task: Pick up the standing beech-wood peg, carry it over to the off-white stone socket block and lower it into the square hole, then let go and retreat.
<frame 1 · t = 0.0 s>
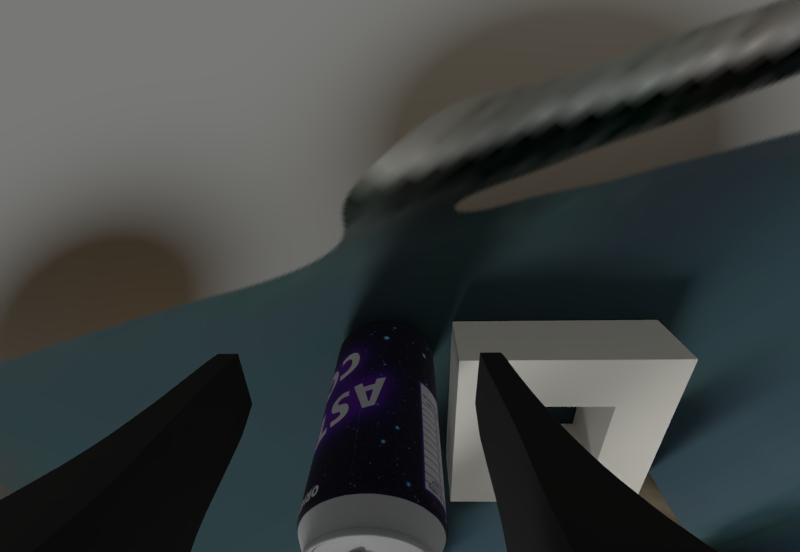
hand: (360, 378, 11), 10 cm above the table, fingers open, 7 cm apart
beech peg: (616, 471, 29), on the table
beverage can: (387, 348, 24), on the table
socket block: (539, 395, 25), on the table
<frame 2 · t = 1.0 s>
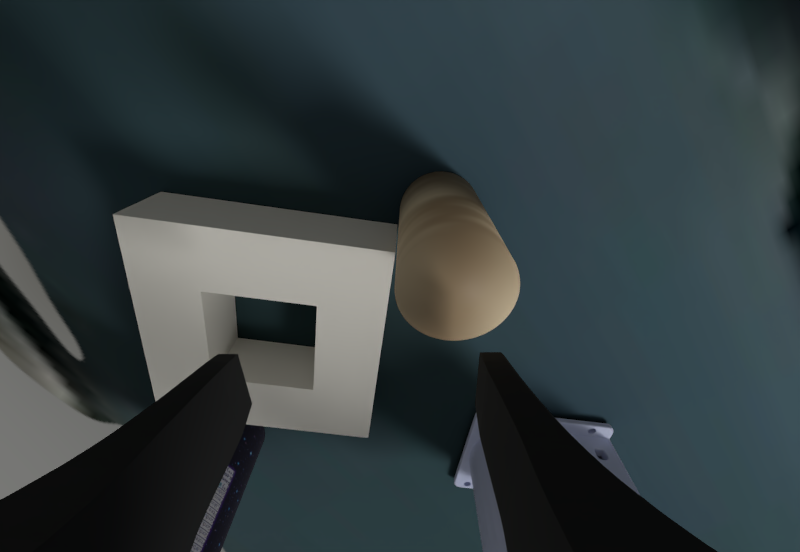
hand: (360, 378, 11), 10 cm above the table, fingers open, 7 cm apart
beech peg: (439, 211, 19), on the table
beverage can: (229, 416, 27), on the table
socket block: (281, 306, 22), on the table
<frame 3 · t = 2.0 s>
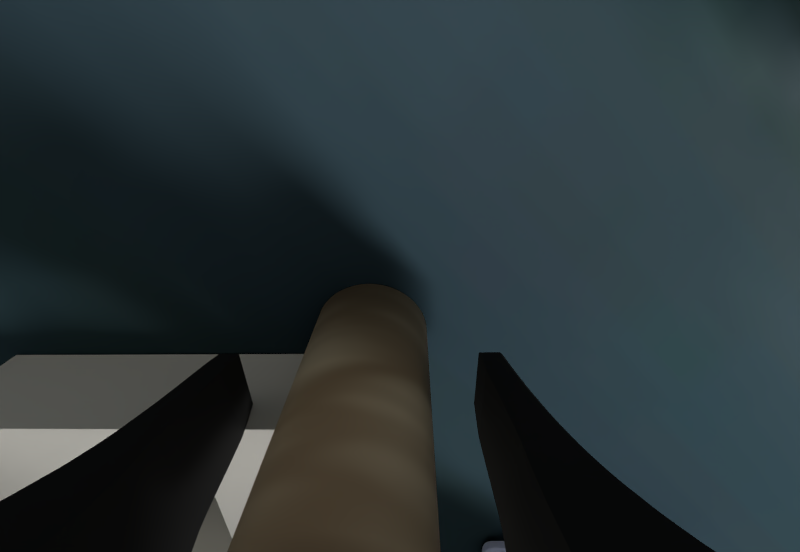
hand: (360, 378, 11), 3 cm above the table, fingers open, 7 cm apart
beech peg: (371, 331, 14), on the table
socket block: (207, 457, 17), on the table
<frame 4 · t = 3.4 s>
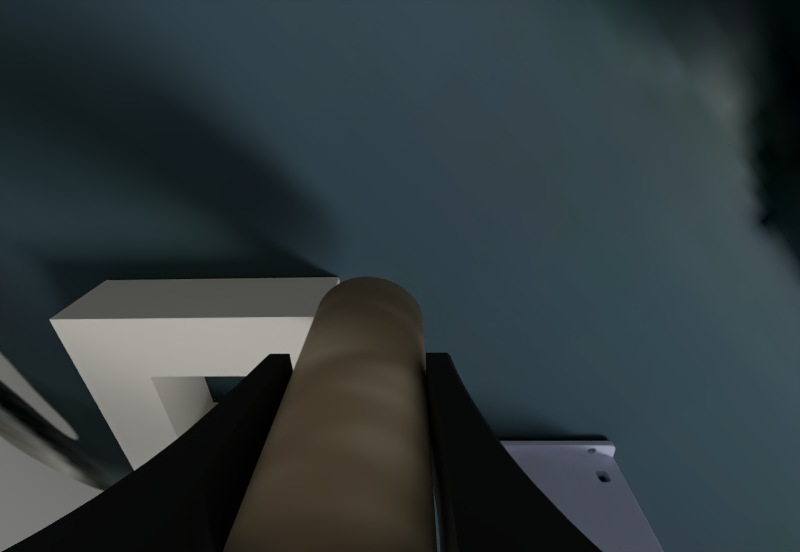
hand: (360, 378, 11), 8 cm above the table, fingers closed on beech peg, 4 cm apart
beech peg: (369, 323, 14), point 5 cm above the table, touching gripper
socket block: (247, 368, 22), on the table
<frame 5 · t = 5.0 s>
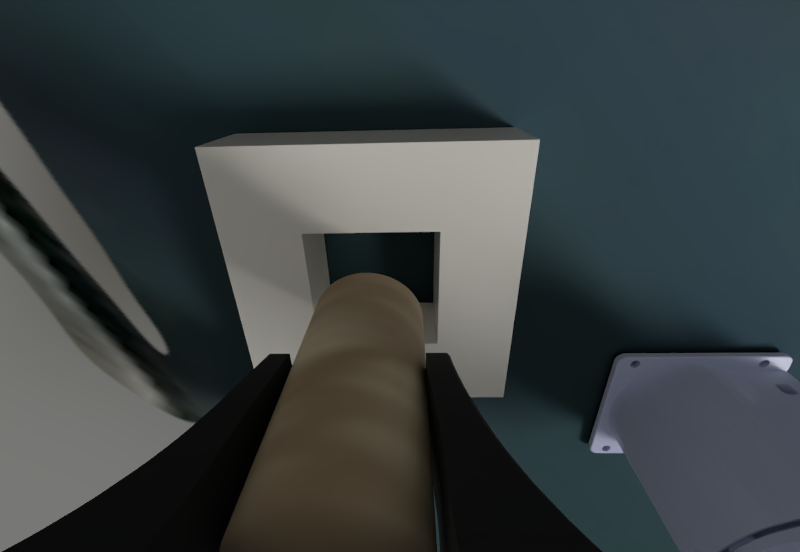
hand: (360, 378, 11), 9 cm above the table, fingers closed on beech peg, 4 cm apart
beech peg: (369, 320, 14), point 6 cm above the table, touching gripper
socket block: (380, 257, 19), on the table
when the fingers open (4 cm above the table, at t = 6.4 s): beech peg stays where it is, resting in socket block.
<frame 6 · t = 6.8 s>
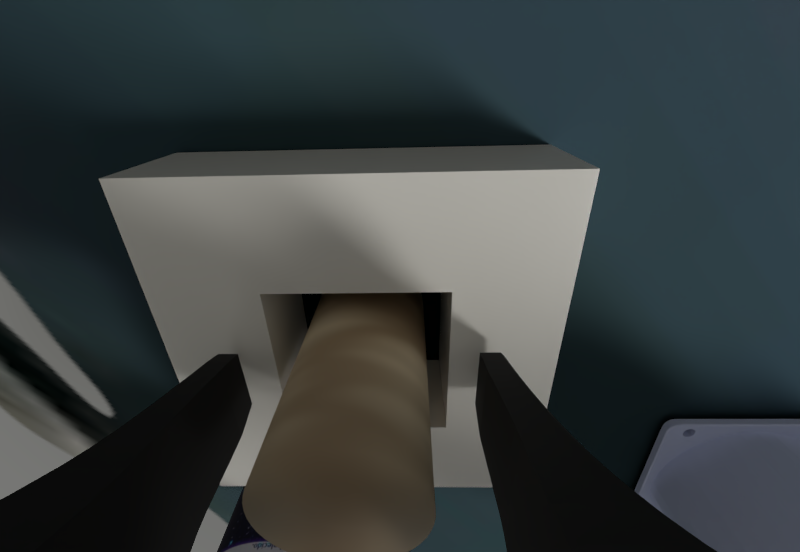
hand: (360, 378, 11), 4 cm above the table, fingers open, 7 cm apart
beech peg: (372, 306, 15), resting in socket block
beverage can: (311, 465, 20), on the table
socket block: (371, 306, 15), on the table
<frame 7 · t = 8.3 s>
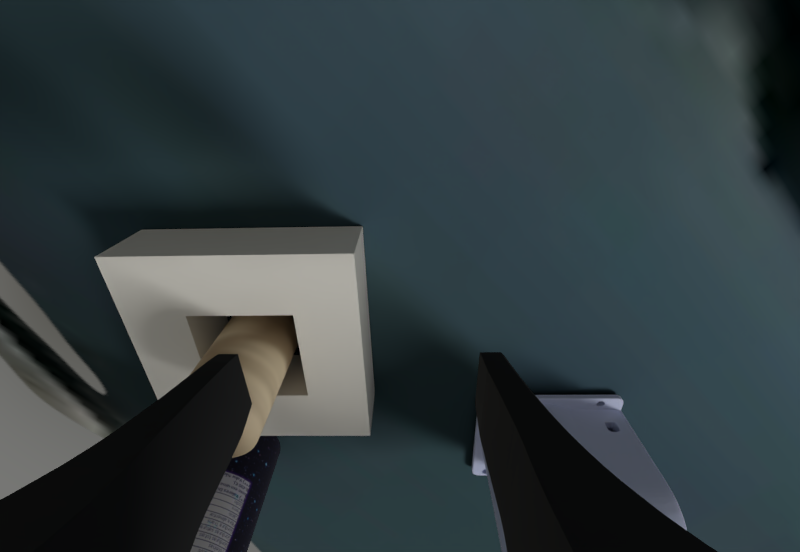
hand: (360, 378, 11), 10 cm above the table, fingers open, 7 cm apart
beech peg: (272, 319, 23), resting in socket block
beverage can: (246, 430, 28), on the table
socket block: (271, 320, 23), on the table
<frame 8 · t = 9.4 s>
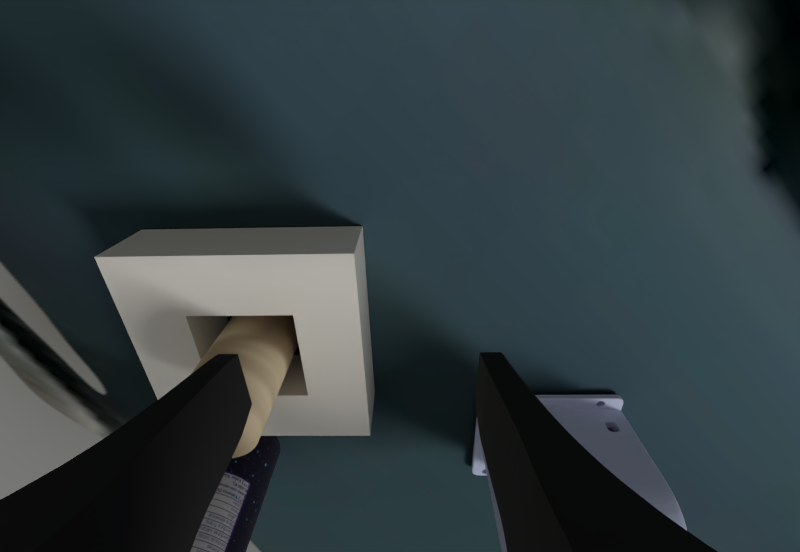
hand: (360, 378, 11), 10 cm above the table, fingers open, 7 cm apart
beech peg: (272, 320, 23), resting in socket block
beverage can: (246, 430, 28), on the table
socket block: (271, 320, 23), on the table
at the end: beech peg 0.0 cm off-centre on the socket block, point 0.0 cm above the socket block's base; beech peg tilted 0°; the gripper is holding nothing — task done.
